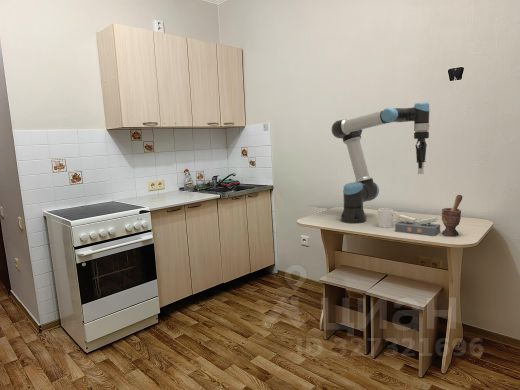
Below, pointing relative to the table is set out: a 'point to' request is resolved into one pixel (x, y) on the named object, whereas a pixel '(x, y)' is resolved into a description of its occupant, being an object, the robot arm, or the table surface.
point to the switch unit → (417, 228)
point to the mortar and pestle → (452, 218)
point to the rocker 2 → (428, 220)
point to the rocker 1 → (407, 218)
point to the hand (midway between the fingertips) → (420, 174)
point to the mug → (386, 217)
